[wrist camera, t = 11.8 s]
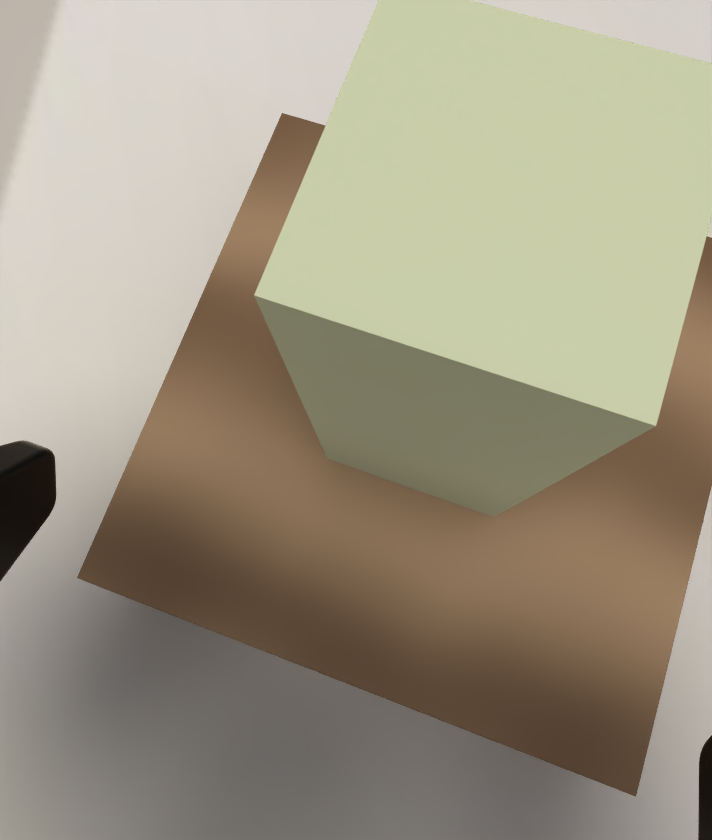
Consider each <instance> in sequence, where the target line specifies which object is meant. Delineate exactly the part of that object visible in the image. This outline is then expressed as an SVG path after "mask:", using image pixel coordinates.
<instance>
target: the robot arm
mask: <svg viewBox="0 0 712 840" xmlns="http://www.w3.org/2000/svg"><path fill="white" fill-rule="evenodd" d="M55 501H56V473H55V456H54V454H53V453H52V451H50V450H49V449H47V448H45V447H42V446H39V445H37V444H34V443H31V442H28V441H17V442H13V443H9V444H5V445H2V446H0V581H1V580H2V578H3V577H4V576H5V574H6V573H7V572H8V570H9V569H10V568H11V566H12V565H13V564H14V562H15V561H16V560H17V558H18V557H19V555H20V554H21V553H22V551H23V550H24V549H25V547H26V546H27V545H28V543H29V542H30V541H31V539H32V538H33V537H34V535H35V534H36V532H37V531H38V530H39V528H40V527H41V526H42V524H43V523H44V522H45V520H46V519H47V518H48V516H49V515H50V513H51V511H52V509H53V507H54V505H55ZM698 840H712V736H711V737H710V738H709V739H708V740H707V741H706V743H705V744H704V746H703V748H702V751H701V755H700V761H699V833H698Z"/></svg>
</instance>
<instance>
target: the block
mask: <svg viewBox="0 0 712 840" xmlns="http://www.w3.org/2000/svg"><path fill="white" fill-rule="evenodd" d="M711 218H712V63H708V62H704V61H700V60H696V59H693V58H689V57H685V56H681V55H677V54H673V53H669V52H666V51H662V50H658V49H654V48H650V47H646V46H643V45H639V44H635V43H631V42H627V41H623V40H619V39H616V38H612V37H608V36H604V35H600V34H596V33H593V32H589V31H585V30H581V29H577V28H573V27H569V26H566V25H562V24H558V23H554V22H550V21H546V20H543V19H539V18H535V17H531V16H527V15H523V14H519V13H516V12H512V11H508V10H504V9H500V8H496V7H493V6H489V5H485V4H481V3H477V2H473V1H469V0H378V3H377V5H376V8H375V10H374V12H373V15H372V17H371V19H370V22H369V24H368V26H367V29H366V31H365V34H364V36H363V38H362V41H361V43H360V45H359V48H358V50H357V53H356V55H355V57H354V60H353V62H352V64H351V67H350V69H349V72H348V74H347V76H346V79H345V81H344V83H343V86H342V88H341V90H340V93H339V95H338V98H337V100H336V102H335V105H334V107H333V109H332V112H331V114H330V117H329V119H328V121H327V124H326V126H325V128H324V131H323V133H322V135H321V138H320V140H319V143H318V145H317V147H316V150H315V152H314V154H313V157H312V159H311V162H310V164H309V166H308V169H307V171H306V173H305V176H304V178H303V181H302V183H301V185H300V188H299V190H298V192H297V195H296V197H295V199H294V202H293V204H292V207H291V209H290V211H289V214H288V216H287V218H286V221H285V223H284V226H283V228H282V230H281V233H280V235H279V237H278V240H277V242H276V245H275V247H274V249H273V252H272V254H271V256H270V259H269V261H268V263H267V266H266V268H265V271H264V273H263V275H262V278H261V280H260V282H259V285H258V287H257V290H256V292H255V294H254V296H255V299H256V301H257V303H258V305H259V307H260V310H261V312H262V314H263V316H264V319H265V321H266V323H267V325H268V328H269V330H270V332H271V334H272V336H273V339H274V341H275V343H276V345H277V348H278V350H279V352H280V354H281V357H282V359H283V361H284V363H285V365H286V368H287V370H288V372H289V374H290V377H291V379H292V381H293V383H294V386H295V388H296V390H297V392H298V394H299V397H300V399H301V401H302V403H303V406H304V408H305V410H306V412H307V415H308V417H309V419H310V421H311V423H312V426H313V428H314V430H315V432H316V435H317V437H318V439H319V441H320V444H321V446H322V448H323V450H324V452H325V455H326V457H327V459H329V460H332V461H335V462H338V463H341V464H343V465H346V466H349V467H352V468H355V469H358V470H360V471H363V472H366V473H369V474H372V475H375V476H378V477H380V478H383V479H386V480H389V481H392V482H395V483H398V484H400V485H403V486H406V487H409V488H412V489H415V490H418V491H420V492H423V493H426V494H429V495H432V496H435V497H437V498H440V499H443V500H446V501H449V502H452V503H455V504H457V505H460V506H463V507H466V508H469V509H472V510H475V511H477V512H480V513H483V514H486V515H489V516H492V517H495V516H497V515H499V514H501V513H503V512H504V511H506V510H508V509H510V508H511V507H513V506H515V505H517V504H519V503H520V502H522V501H524V500H526V499H527V498H529V497H531V496H533V495H535V494H536V493H538V492H540V491H542V490H543V489H545V488H547V487H549V486H551V485H552V484H554V483H556V482H558V481H559V480H561V479H563V478H565V477H566V476H568V475H570V474H572V473H574V472H575V471H577V470H579V469H581V468H582V467H584V466H586V465H588V464H590V463H591V462H593V461H595V460H597V459H598V458H600V457H602V456H604V455H606V454H607V453H609V452H611V451H613V450H614V449H616V448H618V447H620V446H621V445H623V444H625V443H627V442H629V441H630V440H632V439H634V438H636V437H637V436H639V435H641V434H643V433H645V432H646V431H648V430H650V429H652V428H653V427H655V426H656V424H657V421H658V417H659V413H660V409H661V406H662V402H663V398H664V394H665V391H666V387H667V383H668V379H669V376H670V372H671V368H672V364H673V361H674V357H675V353H676V349H677V346H678V342H679V338H680V334H681V331H682V327H683V323H684V319H685V316H686V312H687V308H688V304H689V301H690V297H691V293H692V289H693V285H694V282H695V278H696V274H697V270H698V267H699V263H700V259H701V255H702V252H703V248H704V244H705V240H706V237H707V233H708V229H709V225H710V222H711Z"/></svg>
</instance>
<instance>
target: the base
mask: <svg viewBox="0 0 712 840" xmlns="http://www.w3.org/2000/svg"><path fill="white" fill-rule="evenodd" d="M324 128H325V125H321V124H318V123H314V122H311V121H308V120H304V119H301V118H297V117H294V116H290V115H287V114H283V113H282V115H281V117H280V119H279V121H278V124H277V126H276V128H275V130H274V133H273V135H272V137H271V140H270V142H269V144H268V146H267V149H266V151H265V153H264V155H263V158H262V160H261V162H260V164H259V167H258V169H257V171H256V174H255V176H254V178H253V180H252V183H251V185H250V187H249V189H248V192H247V194H246V196H245V198H244V201H243V203H242V205H241V208H240V210H239V212H238V214H237V217H236V219H235V221H234V223H233V226H232V228H231V230H230V232H229V235H228V237H227V239H226V242H225V244H224V246H223V248H222V251H221V253H220V255H219V257H218V260H217V262H216V264H215V266H214V269H213V271H212V273H211V276H210V278H209V280H208V282H207V285H206V287H205V289H204V291H203V294H202V296H201V298H200V300H199V303H198V305H197V307H196V309H195V312H194V314H193V316H192V319H191V321H190V323H189V325H188V328H187V330H186V332H185V334H184V337H183V339H182V341H181V343H180V346H179V348H178V350H177V353H176V355H175V357H174V359H173V362H172V364H171V366H170V368H169V371H168V373H167V375H166V377H165V380H164V382H163V384H162V387H161V389H160V391H159V393H158V396H157V398H156V400H155V402H154V405H153V407H152V409H151V411H150V414H149V416H148V418H147V421H146V423H145V425H144V427H143V430H142V432H141V434H140V436H139V439H138V441H137V443H136V445H135V448H134V450H133V452H132V455H131V457H130V459H129V461H128V464H127V466H126V468H125V470H124V473H123V475H122V477H121V479H120V482H119V484H118V486H117V489H116V491H115V493H114V495H113V498H112V500H111V502H110V504H109V507H108V509H107V511H106V513H105V516H104V518H103V520H102V523H101V525H100V527H99V529H98V532H97V534H96V536H95V538H94V541H93V543H92V545H91V547H90V550H89V552H88V554H87V557H86V559H85V561H84V563H83V566H82V568H81V570H80V572H79V575H78V577H77V578H79V579H81V580H84V581H86V582H89V583H92V584H94V585H97V586H99V587H102V588H104V589H107V590H109V591H112V592H115V593H117V594H120V595H122V596H125V597H127V598H130V599H132V600H135V601H138V602H140V603H143V604H145V605H148V606H150V607H153V608H155V609H158V610H161V611H163V612H166V613H168V614H171V615H173V616H176V617H178V618H181V619H184V620H186V621H189V622H191V623H194V624H196V625H199V626H201V627H204V628H207V629H209V630H212V631H214V632H217V633H219V634H222V635H224V636H227V637H230V638H232V639H235V640H237V641H240V642H242V643H245V644H247V645H250V646H253V647H255V648H258V649H260V650H263V651H265V652H268V653H270V654H273V655H276V656H278V657H281V658H283V659H286V660H288V661H291V662H293V663H296V664H299V665H301V666H304V667H306V668H309V669H311V670H314V671H316V672H319V673H322V674H324V675H327V676H329V677H332V678H334V679H337V680H340V681H342V682H345V683H347V684H350V685H352V686H355V687H357V688H360V689H363V690H365V691H368V692H370V693H373V694H375V695H378V696H380V697H383V698H386V699H388V700H391V701H393V702H396V703H398V704H401V705H403V706H406V707H409V708H411V709H414V710H416V711H419V712H421V713H424V714H426V715H429V716H432V717H434V718H437V719H439V720H442V721H444V722H447V723H449V724H452V725H455V726H457V727H460V728H462V729H465V730H467V731H470V732H472V733H475V734H478V735H480V736H483V737H485V738H488V739H490V740H493V741H495V742H498V743H501V744H503V745H506V746H508V747H511V748H513V749H516V750H518V751H521V752H524V753H526V754H529V755H531V756H534V757H536V758H539V759H541V760H544V761H547V762H549V763H552V764H554V765H557V766H559V767H562V768H564V769H567V770H570V771H572V772H575V773H577V774H580V775H582V776H585V777H587V778H590V779H593V780H595V781H598V782H600V783H603V784H605V785H608V786H610V787H613V788H616V789H618V790H621V791H623V792H626V793H628V794H631V795H633V796H636V794H637V790H638V786H639V782H640V778H641V774H642V769H643V765H644V761H645V757H646V753H647V749H648V745H649V741H650V737H651V732H652V728H653V724H654V720H655V716H656V712H657V708H658V704H659V700H660V696H661V691H662V687H663V683H664V679H665V675H666V671H667V667H668V663H669V659H670V654H671V650H672V646H673V642H674V638H675V634H676V630H677V626H678V622H679V617H680V613H681V609H682V605H683V601H684V597H685V593H686V589H687V585H688V581H689V576H690V572H691V568H692V564H693V560H694V556H695V552H696V548H697V544H698V539H699V535H700V531H701V527H702V523H703V519H704V515H705V511H706V507H707V502H708V498H709V494H710V490H711V486H712V238H710V237H706V240H705V244H704V248H703V252H702V255H701V259H700V263H699V267H698V270H697V274H696V278H695V282H694V285H693V289H692V293H691V297H690V301H689V304H688V308H687V312H686V316H685V319H684V323H683V327H682V331H681V334H680V338H679V342H678V346H677V349H676V353H675V357H674V361H673V364H672V368H671V372H670V376H669V379H668V383H667V387H666V391H665V394H664V398H663V402H662V406H661V409H660V413H659V417H658V421H657V424H656V426H655V427H653V428H652V429H650V430H648V431H646V432H645V433H643V434H641V435H639V436H637V437H636V438H634V439H632V440H630V441H629V442H627V443H625V444H623V445H621V446H620V447H618V448H616V449H614V450H613V451H611V452H609V453H607V454H606V455H604V456H602V457H600V458H598V459H597V460H595V461H593V462H591V463H590V464H588V465H586V466H584V467H582V468H581V469H579V470H577V471H575V472H574V473H572V474H570V475H568V476H566V477H565V478H563V479H561V480H559V481H558V482H556V483H554V484H552V485H551V486H549V487H547V488H545V489H543V490H542V491H540V492H538V493H536V494H535V495H533V496H531V497H529V498H527V499H526V500H524V501H522V502H520V503H519V504H517V505H515V506H513V507H511V508H510V509H508V510H506V511H504V512H503V513H501V514H499V515H497V516H495V517H492V516H489V515H486V514H483V513H480V512H477V511H475V510H472V509H469V508H466V507H463V506H460V505H457V504H455V503H452V502H449V501H446V500H443V499H440V498H437V497H435V496H432V495H429V494H426V493H423V492H420V491H418V490H415V489H412V488H409V487H406V486H403V485H400V484H398V483H395V482H392V481H389V480H386V479H383V478H380V477H378V476H375V475H372V474H369V473H366V472H363V471H360V470H358V469H355V468H352V467H349V466H346V465H343V464H341V463H338V462H335V461H332V460H329V459H327V457H326V455H325V452H324V450H323V448H322V446H321V444H320V441H319V439H318V437H317V435H316V432H315V430H314V428H313V426H312V423H311V421H310V419H309V417H308V415H307V412H306V410H305V408H304V406H303V403H302V401H301V399H300V397H299V394H298V392H297V390H296V388H295V386H294V383H293V381H292V379H291V377H290V374H289V372H288V370H287V368H286V365H285V363H284V361H283V359H282V357H281V354H280V352H279V350H278V348H277V345H276V343H275V341H274V339H273V336H272V334H271V332H270V330H269V328H268V325H267V323H266V321H265V319H264V316H263V314H262V312H261V310H260V307H259V305H258V303H257V301H256V299H255V296H254V294H255V292H256V290H257V287H258V285H259V282H260V280H261V278H262V275H263V273H264V271H265V268H266V266H267V263H268V261H269V259H270V256H271V254H272V252H273V249H274V247H275V245H276V242H277V240H278V237H279V235H280V233H281V230H282V228H283V226H284V223H285V221H286V218H287V216H288V214H289V211H290V209H291V207H292V204H293V202H294V199H295V197H296V195H297V192H298V190H299V188H300V185H301V183H302V181H303V178H304V176H305V173H306V171H307V169H308V166H309V164H310V162H311V159H312V157H313V154H314V152H315V150H316V147H317V145H318V143H319V140H320V138H321V135H322V133H323V131H324Z"/></svg>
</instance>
